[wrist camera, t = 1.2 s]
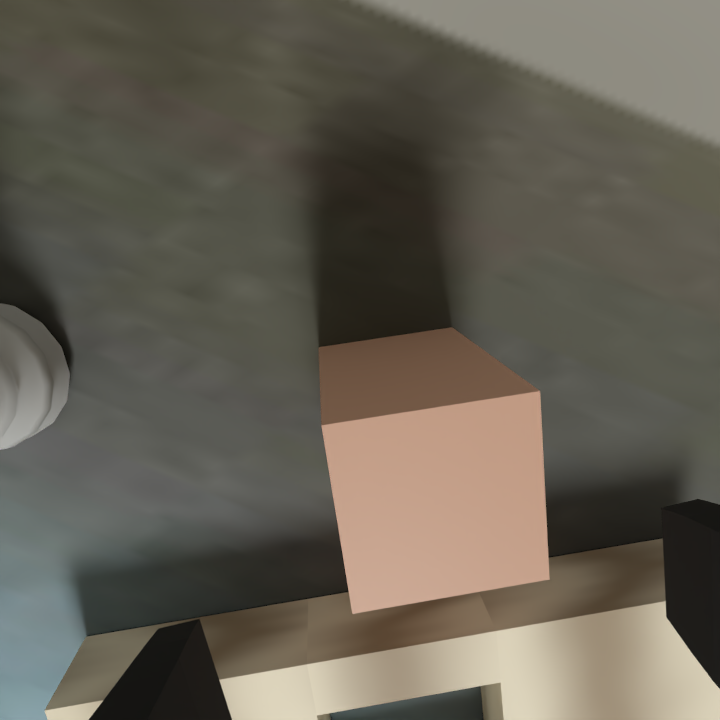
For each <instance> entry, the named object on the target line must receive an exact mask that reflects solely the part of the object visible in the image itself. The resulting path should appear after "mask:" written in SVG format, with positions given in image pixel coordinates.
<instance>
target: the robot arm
mask: <svg viewBox="0 0 720 720" xmlns="http://www.w3.org/2000/svg"><path fill="white" fill-rule="evenodd" d="M661 510H662V532H663V555H664V577H665V599H666V617H667V619H668V620H669V622H670V623H671V624H672V626H673V627H674V629H675V630H676V631H677V633H678V634H679V636H680V637H681V639H682V640H683V641H684V643H685V644H686V646H687V647H688V648H689V650H690V651H691V653H692V654H693V655H694V657H695V658H696V659H697V661H698V662H699V663H700V665H701V666H702V667H703V669H704V670H705V671H706V673H707V674H708V675H709V677H710V678H711V679H712V681H713V682H714V683H715V684H716V685H717V686H718V688H719V689H720V505H718V504H715V503H711V502H708V501H704V500H700V499H697V500H692V501H688V502H684V503H680V504H676V505H672V506H667V507H663V508H661ZM89 720H232V718H231V715H230V712H229V709H228V706H227V702H226V699H225V696H224V693H223V690H222V687H221V684H220V681H219V678H218V675H217V671H216V668H215V665H214V662H213V659H212V656H211V653H210V650H209V647H208V643H207V640H206V637H205V634H204V631H203V628H202V625H201V622H200V619H196V620H192V621H188V622H184V623H179V624H175V625H171V626H167V627H163V628H159V629H158V630H157V631H156V632H155V633H154V635H153V636H152V637H151V638H150V639H149V641H148V642H147V643H146V645H145V646H144V647H143V648H142V650H141V651H140V652H139V654H138V655H137V656H136V658H135V659H134V660H133V662H132V663H131V664H130V666H129V667H128V668H127V670H126V671H125V672H124V674H123V675H122V676H121V678H120V679H119V680H118V682H117V683H116V684H115V686H114V687H113V688H112V690H111V691H110V692H109V694H108V695H107V696H106V698H105V699H104V700H103V701H102V703H101V704H100V705H99V707H98V708H97V709H96V711H95V712H94V713H93V715H92V716H91V717H90V718H89Z"/></svg>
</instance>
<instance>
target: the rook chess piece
mask: <svg viewBox="0 0 720 720" xmlns="http://www.w3.org/2000/svg"><path fill="white" fill-rule="evenodd" d="M69 379H70V372H69V369H68V366H67V363H66V360H65V356H64V353H63V350H62V347H61V346H60V344H59V343H58V342H57V341H56V339H55V338H54V337H53V336H52V334H51V333H50V332H49V331H48V330H47V328H46V327H45V326H44V325H43V323H42V322H40V321H38V320H37V319H35V318H33V317H32V316H30V315H28V314H27V313H25V312H23V311H22V310H20V309H19V308H17V307H15V306H12V305H7V304H2V303H0V450H1V449H6V448H10V447H14V446H16V445H17V444H19V443H20V442H22V441H23V440H25V439H27V438H30V437H32V436H33V435H35V434H36V433H38V432H40V431H41V430H43V429H44V428H46V427H47V426H49V425H51V424H52V423H53V422H54V421H55V419H56V417H57V416H58V414H59V413H60V411H61V410H62V408H63V406H64V405H65V403H66V402H67V396H68V388H69Z"/></svg>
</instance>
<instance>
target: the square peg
mask: <svg viewBox="0 0 720 720" xmlns="http://www.w3.org/2000/svg"><path fill="white" fill-rule="evenodd" d="M319 370H320V397H321V424H322V431H323V437H324V443H325V450H326V456H327V462H328V468H329V474H330V480H331V486H332V492H333V499H334V505H335V511H336V517H337V523H338V529H339V535H340V541H341V548H342V554H343V560H344V566H345V572H346V578H347V584H348V590H349V597H350V603H351V609H352V614H355V613H361V612H366V611H372V610H378V609H384V608H389V607H395V606H401V605H406V604H412V603H418V602H424V601H429V600H435V599H441V598H447V597H452V596H458V595H464V594H469V593H475V592H481V591H487V590H492V589H498V588H504V587H510V586H515V585H521V584H527V583H532V582H538V581H544V580H550V578H549V558H548V538H547V519H546V499H545V480H544V460H543V441H542V421H541V401H540V391H539V390H538V389H536V388H535V387H534V386H532V385H531V384H530V383H528V382H527V381H525V380H524V379H523V378H521V377H520V376H519V375H517V374H516V373H514V372H513V371H512V370H510V369H509V368H507V367H506V366H505V365H503V364H502V363H501V362H499V361H498V360H496V359H495V358H494V357H492V356H491V355H490V354H488V353H487V352H485V351H484V350H483V349H481V348H480V347H479V346H477V345H476V344H474V343H473V342H472V341H470V340H469V339H468V338H466V337H465V336H463V335H462V334H461V333H459V332H458V331H456V330H455V329H454V328H452V327H451V328H444V329H438V330H431V331H424V332H418V333H411V334H404V335H398V336H391V337H384V338H377V339H371V340H364V341H357V342H351V343H344V344H337V345H331V346H324V347H319Z"/></svg>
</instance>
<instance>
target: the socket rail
mask: <svg viewBox="0 0 720 720" xmlns="http://www.w3.org/2000/svg"><path fill="white" fill-rule="evenodd" d="M549 578H550V580H544V581H538V582H532V583H527V584H521V585H515V586H510V587H504V588H498V589H492V590H487V591H481V592H475V593H469V594H464V595H458V596H452V597H447V598H441V599H435V600H429V601H424V602H418V603H412V604H406V605H401V606H395V607H389V608H384V609H378V610H372V611H366V612H361V613H355V614H352V609H351V603H350V597H349V592H345V593H340V594H334V595H328V596H322V597H316V598H310V599H304V600H298V601H293V602H287V603H281V604H275V605H269V606H263V607H257V608H252V609H246V610H240V611H234V612H228V613H222V614H216V615H211V616H205V617H199V618H193V619H187V620H181V621H175V622H169V623H164V624H158V625H152V626H146V627H140V628H134V629H128V630H123V631H117V632H111V633H105V634H99V635H93V636H87V637H86V638H85V640H84V641H83V643H82V645H81V647H80V648H79V650H78V652H77V654H76V656H75V657H74V659H73V661H72V663H71V664H70V666H69V668H68V670H67V672H66V673H65V675H64V677H63V679H62V680H61V682H60V684H59V686H58V688H57V689H56V691H55V693H54V695H53V696H52V698H51V700H50V702H49V704H48V705H47V707H46V709H45V713H46V716H47V719H48V720H89V718H90V717H91V716H92V715H93V713H94V712H95V711H96V709H97V708H98V707H99V705H100V704H101V703H102V701H103V700H104V699H105V698H106V696H107V695H108V694H109V692H110V691H111V690H112V688H113V687H114V686H115V684H116V683H117V682H118V680H119V679H120V678H121V676H122V675H123V674H124V672H125V671H126V670H127V668H128V667H129V666H130V664H131V663H132V662H133V660H134V659H135V658H136V656H137V655H138V654H139V652H140V651H141V650H142V648H143V647H144V646H145V645H146V643H147V642H148V641H149V639H150V638H151V637H152V636H153V635H154V633H155V632H156V631H157V630H158V629H159V628H163V627H167V626H171V625H175V624H179V623H184V622H188V621H192V620H196V619H200V622H201V625H202V628H203V631H204V634H205V637H206V640H207V643H208V647H209V650H210V653H211V656H212V659H213V662H214V665H215V668H216V671H217V675H218V678H219V681H220V684H221V687H222V690H223V693H224V696H225V699H226V702H227V706H228V709H229V712H230V715H231V718H232V720H331V718H330V713H334V712H339V711H345V710H350V709H356V708H362V707H367V706H373V705H378V704H384V703H389V702H395V701H400V700H406V699H411V698H417V697H422V696H428V695H434V694H439V693H445V692H450V691H456V690H461V689H467V688H472V687H478V686H481V696H482V707H483V717H484V720H720V689H719V688H718V686H717V685H716V684H715V683H714V682H713V681H712V679H711V678H710V677H709V675H708V674H707V673H706V671H705V670H704V669H703V667H702V666H701V665H700V663H699V662H698V661H697V659H696V658H695V657H694V655H693V654H692V653H691V651H690V650H689V648H688V647H687V646H686V644H685V643H684V641H683V640H682V639H681V637H680V636H679V634H678V633H677V631H676V630H675V629H674V627H673V626H672V624H671V623H670V622H669V620H668V619H667V617H666V599H665V577H664V555H663V538H662V539H656V540H650V541H644V542H638V543H633V544H627V545H621V546H615V547H609V548H603V549H597V550H592V551H586V552H580V553H574V554H568V555H562V556H556V557H551V558H549Z"/></svg>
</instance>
